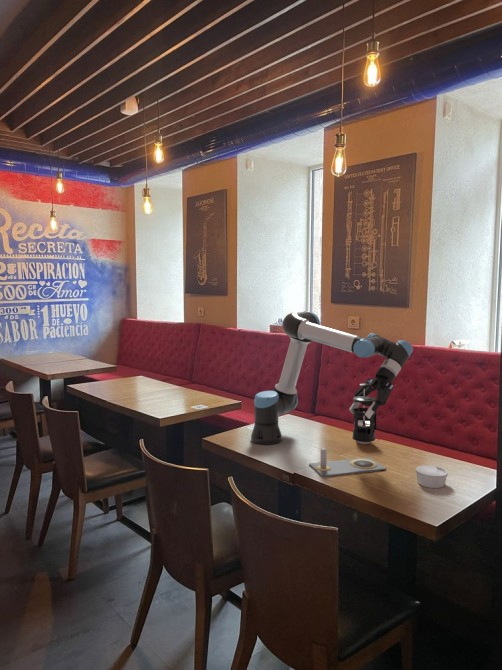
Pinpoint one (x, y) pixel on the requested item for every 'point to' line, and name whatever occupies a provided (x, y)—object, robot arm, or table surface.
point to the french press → (363, 433)
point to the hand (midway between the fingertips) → (359, 414)
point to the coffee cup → (361, 418)
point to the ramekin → (431, 476)
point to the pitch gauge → (344, 466)
